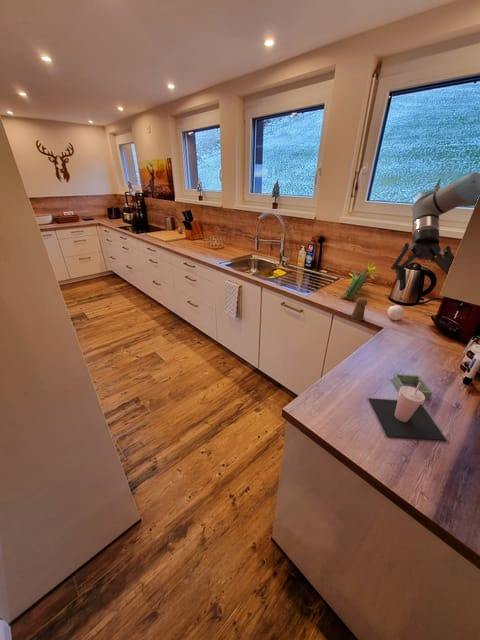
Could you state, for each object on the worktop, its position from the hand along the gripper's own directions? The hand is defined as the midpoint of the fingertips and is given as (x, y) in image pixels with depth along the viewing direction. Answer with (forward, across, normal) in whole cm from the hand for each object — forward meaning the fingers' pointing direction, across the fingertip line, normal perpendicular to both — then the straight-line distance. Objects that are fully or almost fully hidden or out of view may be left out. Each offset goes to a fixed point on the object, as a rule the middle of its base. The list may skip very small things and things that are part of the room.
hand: (425, 291), depth 84 cm
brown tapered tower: (-6, +7, -52) cm, 53 cm away
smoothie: (+40, +4, -6) cm, 40 cm away
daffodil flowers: (-32, +2, -78) cm, 84 cm away
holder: (+30, -3, -16) cm, 34 cm away
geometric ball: (-9, -12, -55) cm, 57 cm away
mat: (+40, +3, -6) cm, 40 cm away
